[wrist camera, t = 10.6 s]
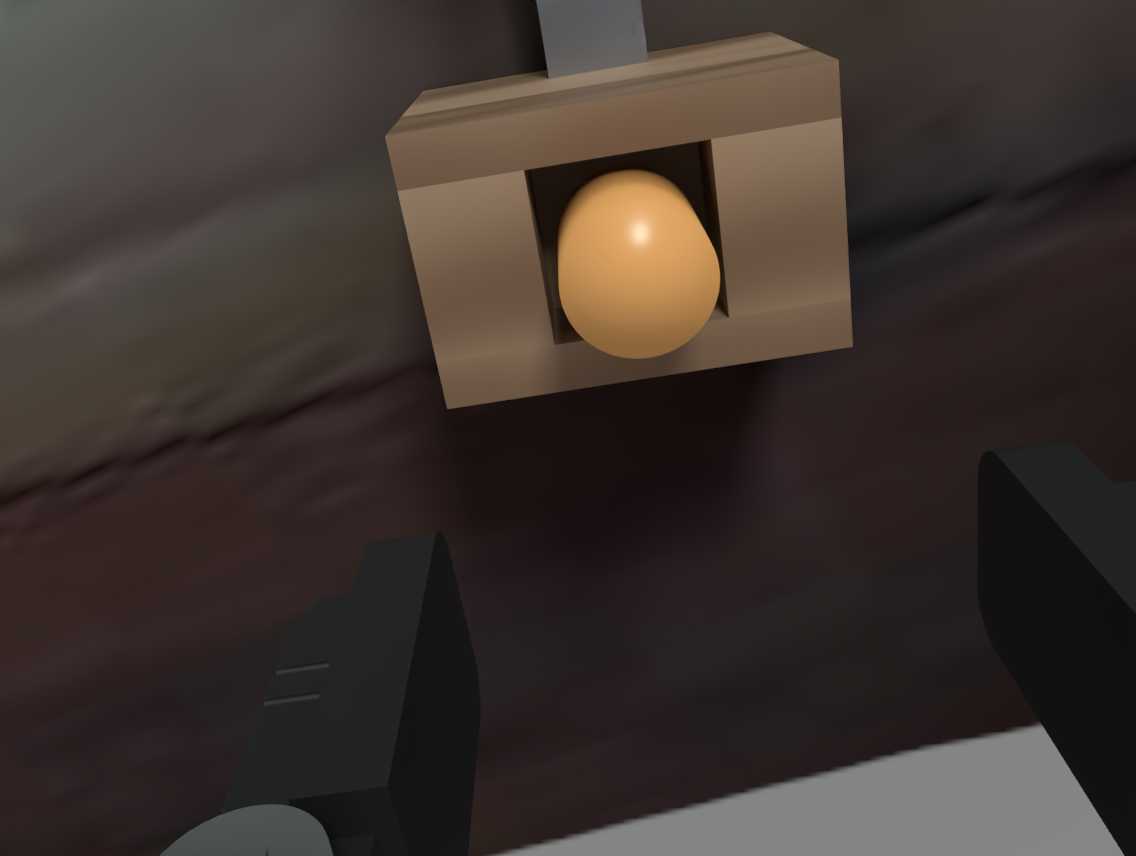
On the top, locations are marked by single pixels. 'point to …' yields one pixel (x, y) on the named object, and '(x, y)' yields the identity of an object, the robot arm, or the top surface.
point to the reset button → (634, 263)
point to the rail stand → (615, 138)
